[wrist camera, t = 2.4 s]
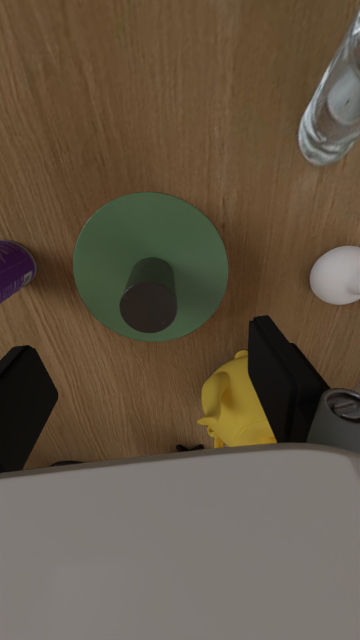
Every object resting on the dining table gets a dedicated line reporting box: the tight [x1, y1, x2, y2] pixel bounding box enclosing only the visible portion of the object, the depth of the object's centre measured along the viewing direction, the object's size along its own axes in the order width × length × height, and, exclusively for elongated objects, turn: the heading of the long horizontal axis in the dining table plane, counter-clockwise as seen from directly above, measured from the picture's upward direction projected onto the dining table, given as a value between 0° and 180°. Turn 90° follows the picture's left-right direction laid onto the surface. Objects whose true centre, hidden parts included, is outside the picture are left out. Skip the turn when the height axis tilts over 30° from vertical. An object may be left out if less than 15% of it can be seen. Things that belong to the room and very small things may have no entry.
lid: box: [73, 192, 229, 342], centre depth 18 cm, size 13×13×7 cm
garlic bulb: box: [310, 246, 360, 305], centre depth 24 cm, size 6×6×8 cm
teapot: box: [197, 350, 277, 448], centre depth 30 cm, size 20×15×12 cm
